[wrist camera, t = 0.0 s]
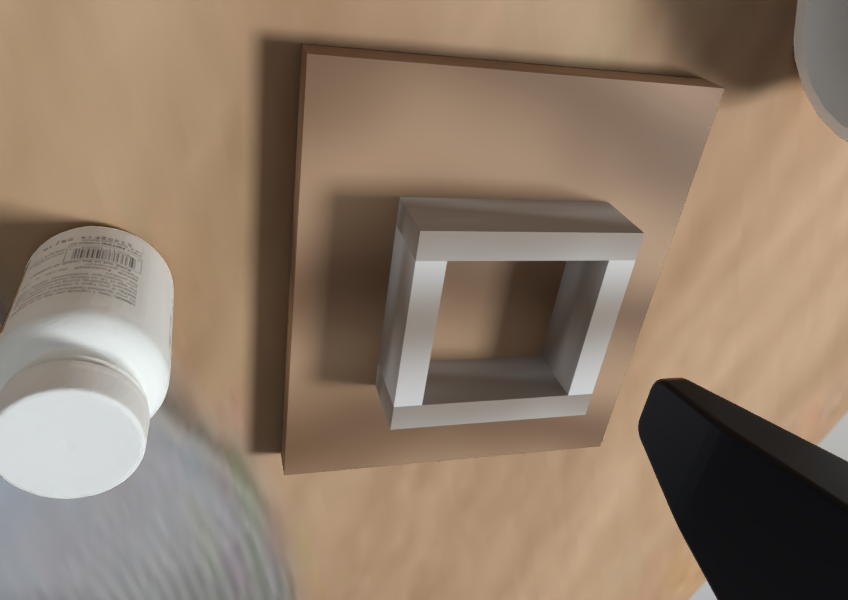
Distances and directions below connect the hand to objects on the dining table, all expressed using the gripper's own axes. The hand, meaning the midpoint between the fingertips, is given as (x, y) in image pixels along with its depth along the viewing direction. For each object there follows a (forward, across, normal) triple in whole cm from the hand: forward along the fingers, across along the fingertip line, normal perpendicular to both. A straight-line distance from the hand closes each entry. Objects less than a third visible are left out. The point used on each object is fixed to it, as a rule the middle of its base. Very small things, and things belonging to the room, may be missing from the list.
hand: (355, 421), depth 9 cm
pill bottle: (+15, +5, +6) cm, 17 cm away
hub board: (+15, -8, +6) cm, 18 cm away
